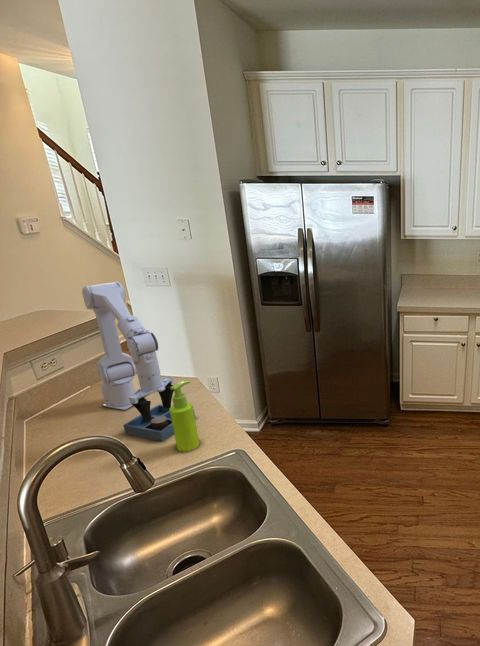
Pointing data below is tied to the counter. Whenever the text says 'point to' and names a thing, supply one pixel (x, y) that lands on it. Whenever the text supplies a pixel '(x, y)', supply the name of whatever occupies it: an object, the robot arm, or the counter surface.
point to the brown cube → (159, 423)
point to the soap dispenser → (183, 420)
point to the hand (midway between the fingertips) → (157, 413)
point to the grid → (150, 425)
